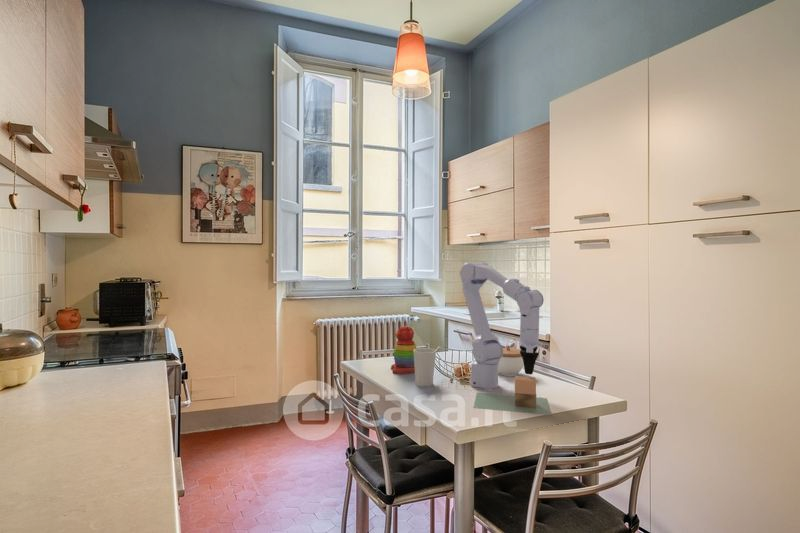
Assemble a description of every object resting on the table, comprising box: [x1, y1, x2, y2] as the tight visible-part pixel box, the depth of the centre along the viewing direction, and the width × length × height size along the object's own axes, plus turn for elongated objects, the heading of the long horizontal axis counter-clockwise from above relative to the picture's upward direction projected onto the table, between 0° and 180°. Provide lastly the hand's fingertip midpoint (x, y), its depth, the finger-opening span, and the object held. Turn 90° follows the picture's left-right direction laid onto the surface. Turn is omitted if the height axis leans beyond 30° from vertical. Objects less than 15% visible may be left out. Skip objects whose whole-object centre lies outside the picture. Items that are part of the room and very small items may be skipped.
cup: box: [414, 347, 437, 387], centre depth 161 cm, size 8×8×12 cm
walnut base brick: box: [514, 392, 537, 408], centre depth 137 cm, size 6×4×4 cm
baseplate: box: [473, 392, 553, 416], centre depth 139 cm, size 22×16×1 cm
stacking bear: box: [390, 325, 418, 375], centre depth 180 cm, size 11×10×18 cm
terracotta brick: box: [514, 375, 537, 396], centre depth 137 cm, size 6×4×4 cm
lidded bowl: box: [498, 345, 524, 377], centre depth 178 cm, size 13×13×11 cm
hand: (528, 371), depth 144 cm, fingers open, 7 cm apart
